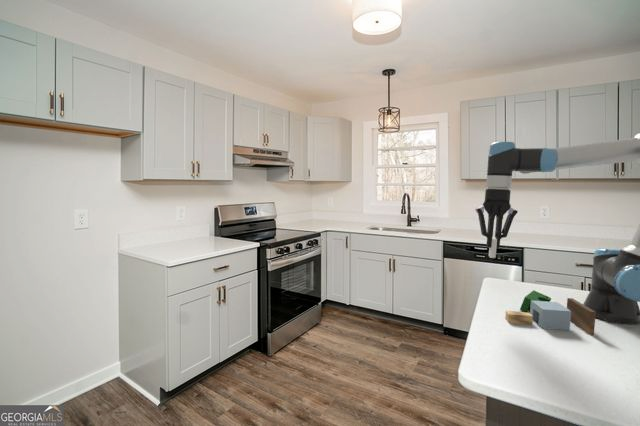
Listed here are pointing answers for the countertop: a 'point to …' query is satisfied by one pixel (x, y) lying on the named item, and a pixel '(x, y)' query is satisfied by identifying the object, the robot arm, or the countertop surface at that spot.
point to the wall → (581, 316)
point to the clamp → (534, 297)
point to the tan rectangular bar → (519, 317)
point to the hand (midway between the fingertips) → (491, 256)
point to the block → (550, 315)
